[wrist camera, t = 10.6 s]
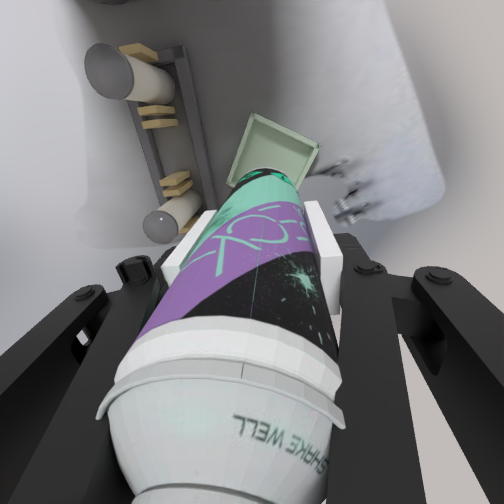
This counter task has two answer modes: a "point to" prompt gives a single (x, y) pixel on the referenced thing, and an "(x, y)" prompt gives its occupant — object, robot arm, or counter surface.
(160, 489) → the spray can
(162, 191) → the fuse frame
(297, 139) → the tray
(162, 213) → the fuse
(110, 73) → the fuse
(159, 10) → the counter surface
